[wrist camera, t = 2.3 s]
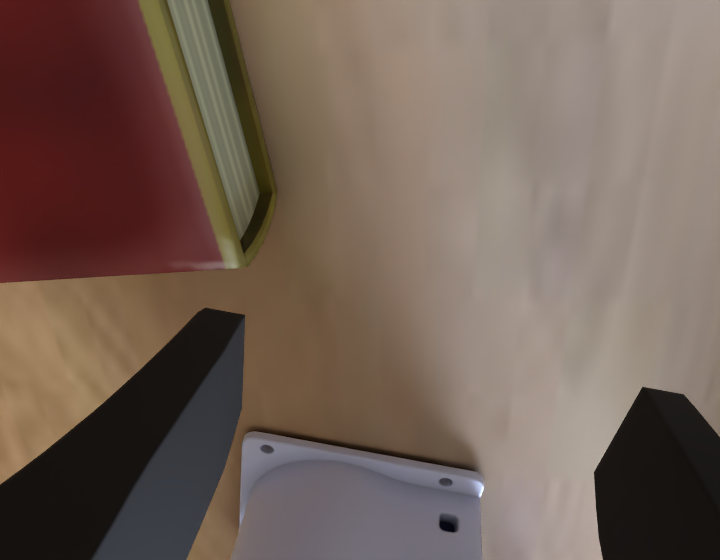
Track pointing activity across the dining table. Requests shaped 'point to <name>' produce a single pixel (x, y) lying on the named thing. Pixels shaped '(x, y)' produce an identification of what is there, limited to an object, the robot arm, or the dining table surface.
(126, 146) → the hardcover book
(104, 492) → the robot arm
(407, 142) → the dining table surface
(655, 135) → the dining table surface
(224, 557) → the dining table surface
